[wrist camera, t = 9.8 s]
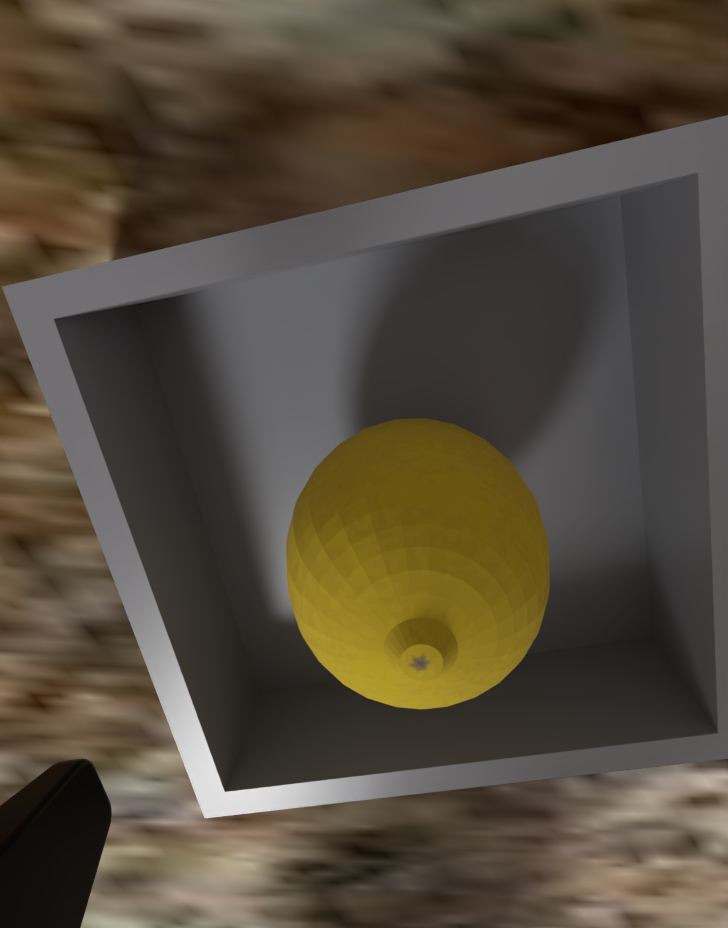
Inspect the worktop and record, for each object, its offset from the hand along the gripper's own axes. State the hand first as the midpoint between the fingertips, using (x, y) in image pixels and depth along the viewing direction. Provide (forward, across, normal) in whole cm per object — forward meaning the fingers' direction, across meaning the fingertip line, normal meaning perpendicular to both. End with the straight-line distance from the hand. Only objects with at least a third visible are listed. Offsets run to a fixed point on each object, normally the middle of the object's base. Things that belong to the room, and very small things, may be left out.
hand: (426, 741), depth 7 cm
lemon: (+10, 0, 0) cm, 10 cm away
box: (+10, 0, 0) cm, 10 cm away
